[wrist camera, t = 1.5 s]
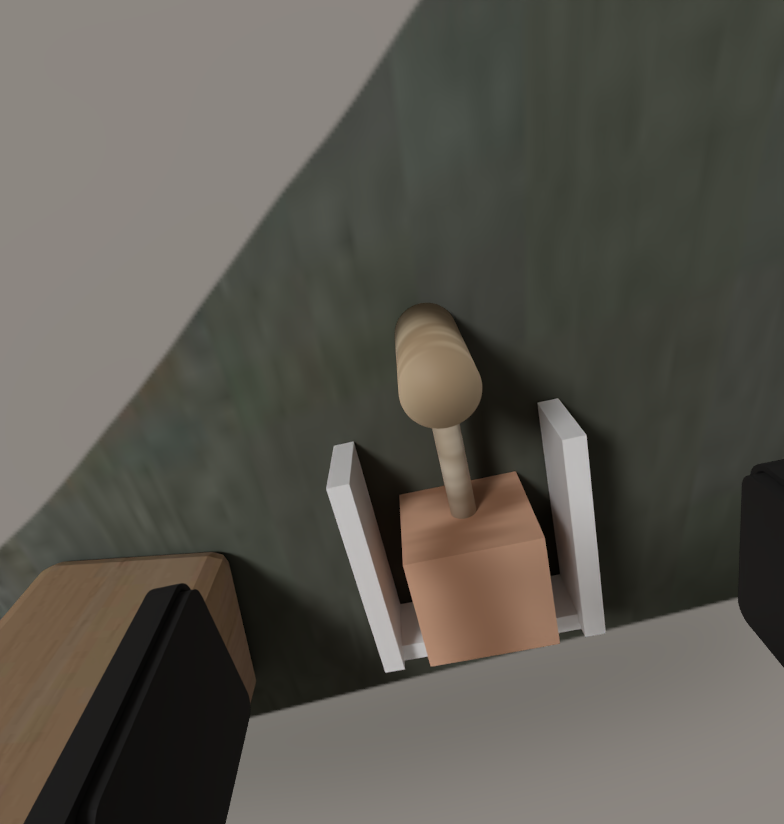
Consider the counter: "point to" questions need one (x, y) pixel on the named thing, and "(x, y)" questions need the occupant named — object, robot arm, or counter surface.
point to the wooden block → (85, 652)
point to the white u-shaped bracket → (572, 528)
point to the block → (465, 514)
